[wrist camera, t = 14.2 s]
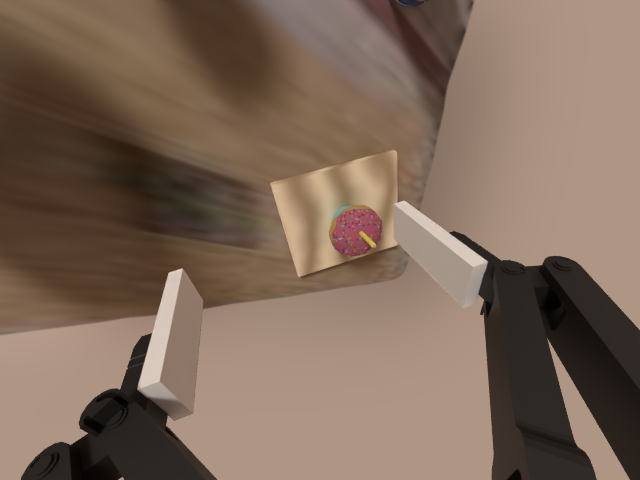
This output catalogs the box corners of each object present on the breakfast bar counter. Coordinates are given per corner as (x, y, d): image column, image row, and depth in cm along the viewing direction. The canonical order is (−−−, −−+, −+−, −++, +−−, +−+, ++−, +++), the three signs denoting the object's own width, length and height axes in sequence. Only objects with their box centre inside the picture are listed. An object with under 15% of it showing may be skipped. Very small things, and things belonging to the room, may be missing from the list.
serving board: (296, 272, 49) (298, 277, 48) (269, 182, 39) (271, 186, 38) (394, 241, 52) (397, 245, 51) (392, 149, 42) (397, 151, 40)
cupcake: (316, 206, 42) (341, 246, 32) (365, 187, 42) (404, 220, 32) (329, 247, 46) (354, 293, 37) (373, 229, 47) (409, 270, 37)
